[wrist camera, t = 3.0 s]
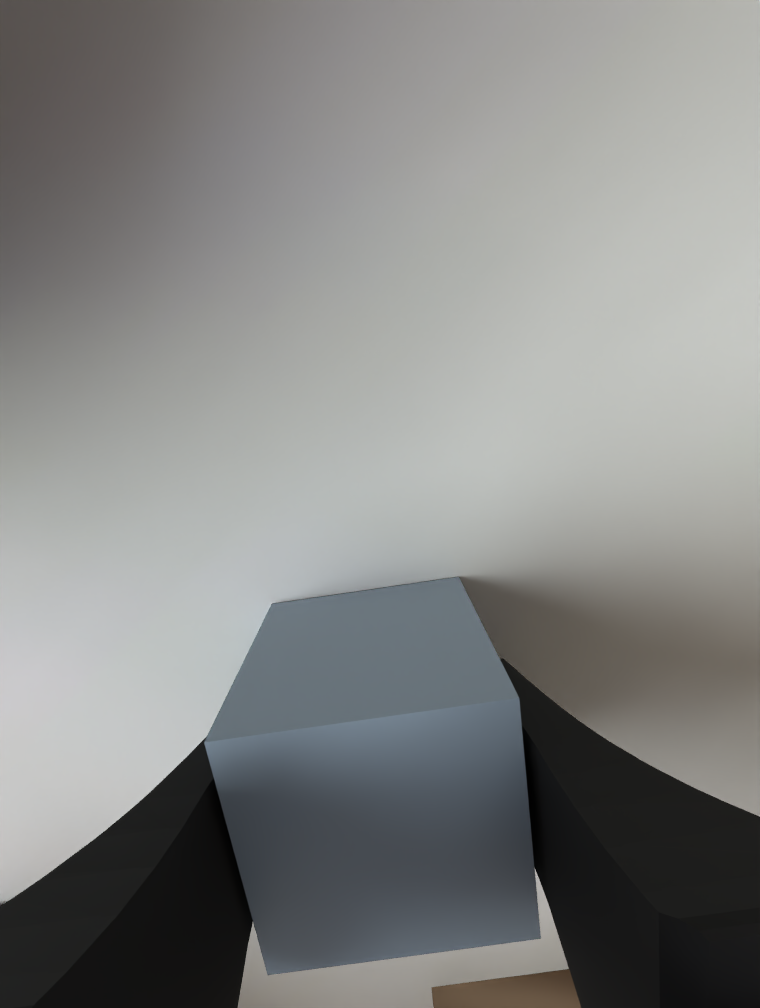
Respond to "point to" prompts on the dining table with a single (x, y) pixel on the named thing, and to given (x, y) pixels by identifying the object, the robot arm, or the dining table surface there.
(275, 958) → the slate cube
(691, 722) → the dining table surface
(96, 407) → the dining table surface
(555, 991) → the walnut base block
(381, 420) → the dining table surface
